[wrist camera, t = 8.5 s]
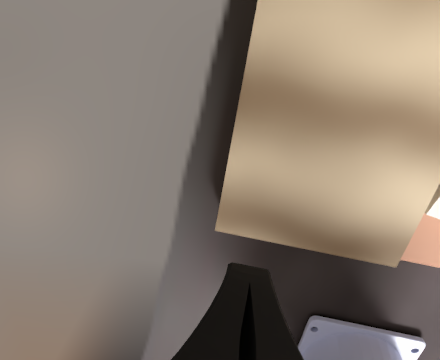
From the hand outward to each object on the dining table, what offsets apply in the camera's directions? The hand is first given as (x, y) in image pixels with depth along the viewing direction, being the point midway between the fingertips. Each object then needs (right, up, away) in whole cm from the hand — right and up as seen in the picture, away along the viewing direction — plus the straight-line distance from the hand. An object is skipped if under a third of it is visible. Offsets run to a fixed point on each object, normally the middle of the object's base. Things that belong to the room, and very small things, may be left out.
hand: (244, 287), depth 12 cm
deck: (+5, +7, +6) cm, 11 cm away
